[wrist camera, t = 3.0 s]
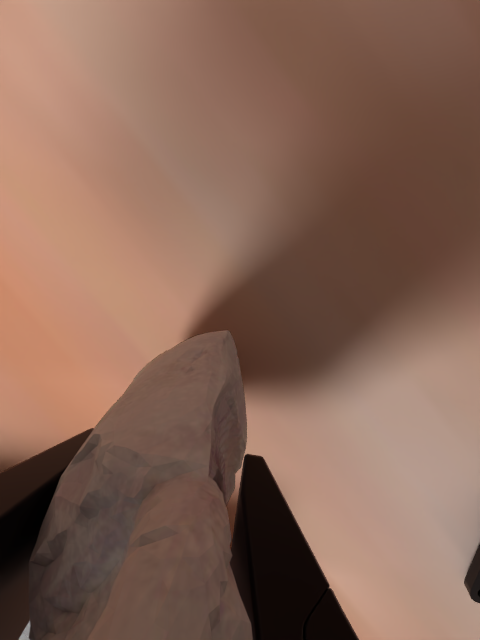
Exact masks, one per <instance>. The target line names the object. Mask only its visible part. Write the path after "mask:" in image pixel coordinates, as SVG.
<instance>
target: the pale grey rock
mask: <svg viewBox="0 0 480 640" xmlns="http://www.w3.org/2000/svg"><path fill="white" fill-rule="evenodd" d="M246 442H247V419H246V406H245V396H244V389H243V382H242V376H241V371H240V364H239V358H238V357H237V349H236V346H235V342H234V339H233V337H232V335H231V333H230V331H228V330H224V331H215V332H209V333H204V334H200V335H197V336H194V337H192V338H189V339H187V340H185V341H183V342H181V343H179V344H178V345H176V346H175V347H173V348H172V349H170V350H168V351H165V352H164V353H162V354H160V355H159V356H157V357H156V358H155V359H153V360H152V361H151V362H149V363H148V364H147V365H146V366H145V367H144V368H143V369H142V370H141V371H140V372H139V373H138V374H137V375H136V377H135V378H134V380H133V382H132V383H131V384H130V385H129V387H128V388H127V390H126V391H125V392H124V394H123V395H122V396H121V397H120V398H119V399H118V401H117V402H116V403H115V404H114V405H113V406H112V407H111V408H110V409H109V410H108V411H107V413H106V414H105V415H104V417H103V418H102V419H101V420H100V421H99V423H98V424H97V425H96V427H95V428H94V430H93V431H92V432H91V434H90V435H89V437H88V438H87V440H86V441H85V442H84V444H83V445H82V446H81V448H80V449H79V451H78V452H77V454H76V455H75V457H74V458H73V459H72V461H71V462H70V464H69V465H68V467H67V468H66V470H65V471H64V473H63V474H62V476H61V477H60V480H59V483H58V485H57V488H56V491H55V493H54V496H53V498H52V501H51V503H50V505H49V508H48V510H47V513H46V515H45V518H44V520H43V522H42V525H41V529H40V532H39V535H38V538H37V541H36V545H35V547H34V550H33V552H32V555H31V558H30V560H29V613H30V632H29V639H30V640H253V636H252V627H251V622H250V620H249V617H248V615H247V612H246V610H245V607H244V605H243V602H242V599H241V597H240V594H239V591H238V588H237V584H236V581H235V578H234V575H233V572H232V569H231V566H230V563H229V562H230V560H231V558H232V553H231V549H230V543H231V540H232V538H231V531H230V523H229V517H228V510H227V508H226V505H227V503H228V501H229V499H230V497H231V495H232V493H233V491H234V489H235V473H236V472H237V471H238V470H239V469H240V468H241V465H242V460H243V456H244V453H245V449H246Z"/></svg>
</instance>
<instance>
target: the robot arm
mask: <svg viewBox="0 0 480 640" xmlns="http://www.w3.org/2000/svg"><path fill="white" fill-rule="evenodd" d="M93 430H94V428H91V429H89V430H86V431H84V432H82V433H80V434H78V435H76V436H74V437H72V438H70V439H68V440H66V441H64V442H62V443H60V444H58V445H56V446H54V447H52V448H50V449H48V450H46V451H44V452H42V453H40V454H38V455H36V456H34V457H31V458H29V459H27V460H25V461H23V462H21V463H19V464H17V465H15V466H13V467H11V468H9V469H7V470H5V471H3V472H1V473H0V640H19V638H20V636H21V635H22V633H23V631H24V629H25V628H26V626H27V624H28V622H29V621H30V613H29V560H30V558H31V555H32V552H33V550H34V547H35V545H36V541H37V538H38V535H39V532H40V529H41V525H42V522H43V520H44V518H45V515H46V513H47V510H48V508H49V505H50V503H51V501H52V498H53V496H54V493H55V491H56V488H57V485H58V483H59V480H60V477H61V476H62V474H63V473H64V471H65V470H66V468H67V467H68V465H69V464H70V462H71V461H72V459H73V458H74V457H75V455H76V454H77V452H78V451H79V449H80V448H81V446H82V445H83V444H84V442H85V441H86V440H87V438H88V437H89V435H90V434H91V432H92V431H93ZM231 553H232V558H231V560H230V566H231V569H232V572H233V575H234V578H235V581H236V584H237V588H238V591H239V594H240V597H241V599H242V602H243V605H244V607H245V610H246V612H247V615H248V617H249V620H250V622H251V627H252V636H253V640H359V639H358V637H357V635H356V633H355V632H354V630H353V628H352V626H351V624H350V622H349V621H348V619H347V617H346V615H345V613H344V612H343V610H342V608H341V606H340V604H339V602H338V600H337V598H336V596H335V594H334V592H333V590H332V589H331V588H329V583H328V581H327V579H326V577H325V575H324V573H323V571H322V570H321V568H320V566H319V564H318V562H317V560H316V558H315V556H314V554H313V552H312V550H311V548H310V546H309V545H308V543H307V541H306V539H305V537H304V535H303V533H302V531H301V529H300V527H299V525H298V523H297V521H296V519H295V518H294V516H293V514H292V512H291V510H290V508H289V506H288V504H287V502H286V500H285V498H284V496H283V494H282V493H281V491H280V489H279V487H278V485H277V483H276V481H275V479H274V477H273V475H272V473H271V471H270V469H269V468H268V466H267V464H266V462H265V460H264V458H263V457H262V456H257V455H251V454H246V455H245V457H244V462H243V469H242V475H241V482H240V488H239V496H238V503H237V510H236V517H235V525H234V532H233V539H232V547H231ZM464 584H465V586H466V588H467V590H468V592H469V594H470V596H471V599H473V600H474V601H475V602H478V603H480V545H479V548H478V550H477V552H476V554H475V557H474V559H473V561H472V564H471V566H470V568H469V570H468V573H467V575H466V577H465V581H464Z"/></svg>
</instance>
